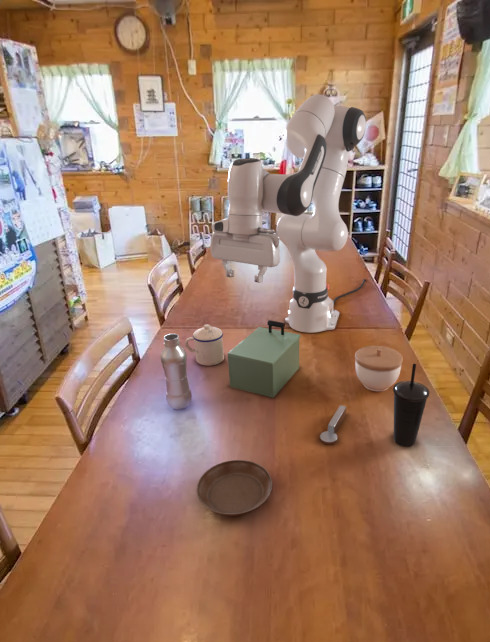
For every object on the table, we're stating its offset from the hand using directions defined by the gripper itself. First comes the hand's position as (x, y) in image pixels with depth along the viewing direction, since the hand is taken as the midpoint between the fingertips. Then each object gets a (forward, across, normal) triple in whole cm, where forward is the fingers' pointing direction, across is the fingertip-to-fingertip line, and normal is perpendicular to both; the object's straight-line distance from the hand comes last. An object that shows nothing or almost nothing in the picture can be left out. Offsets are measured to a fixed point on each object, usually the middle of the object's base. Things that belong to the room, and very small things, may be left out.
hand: (244, 279), depth 120 cm
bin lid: (+19, -5, -4) cm, 20 cm away
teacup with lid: (+29, +18, -4) cm, 34 cm away
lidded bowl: (+28, -33, -18) cm, 47 cm away
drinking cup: (+31, -48, +1) cm, 57 cm away
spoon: (+31, -32, +6) cm, 45 cm away
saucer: (+34, -25, +35) cm, 55 cm away
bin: (+29, -4, -5) cm, 30 cm away
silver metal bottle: (+32, +7, +18) cm, 37 cm away
